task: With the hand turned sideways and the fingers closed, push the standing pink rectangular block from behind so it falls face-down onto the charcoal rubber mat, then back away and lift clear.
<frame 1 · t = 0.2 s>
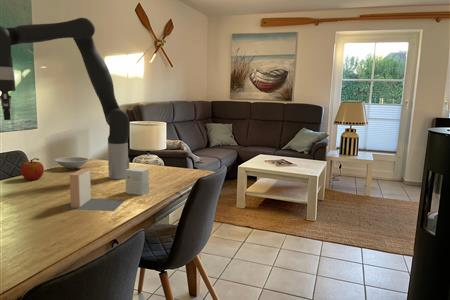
hand: (7, 119, 142), 29 cm above the table, tool pointing down, fingers open, 8 cm apart
small box: (137, 194, 145), on the table
tile mat: (95, 205, 128), on the table
fruit: (32, 179, 164), on the table
pink rectangular block: (81, 203, 129), point 1 cm above the table, touching tile mat
dish: (72, 168, 188), on the table
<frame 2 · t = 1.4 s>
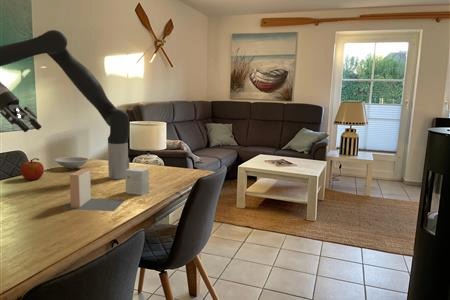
hand: (33, 129, 132), 27 cm above the table, tool tilted 45°, fingers open, 7 cm apart
nothing on the table moved.
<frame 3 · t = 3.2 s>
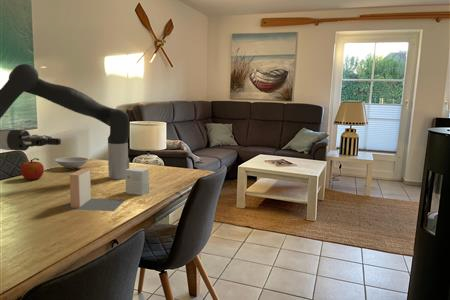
hand: (59, 141, 125), 23 cm above the table, tool horizontal, fingers closed
nothing on the table moved.
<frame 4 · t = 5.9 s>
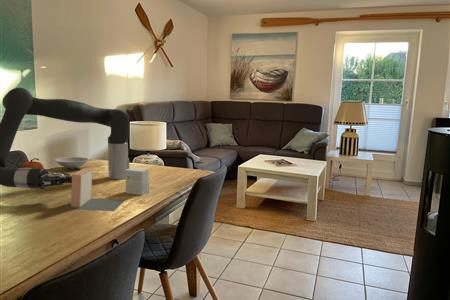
hand: (78, 179, 127), 9 cm above the table, tool horizontal, fingers closed
nothing on the table moved.
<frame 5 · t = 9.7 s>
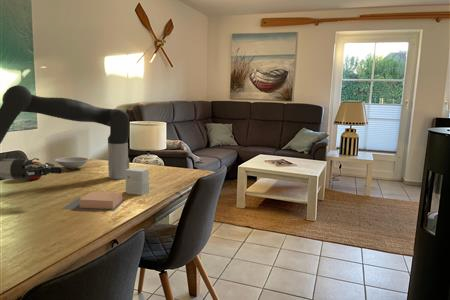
hand: (62, 170, 127), 13 cm above the table, tool horizontal, fingers closed
pink rectangular block: (85, 199, 128), point 2 cm above the table, tilted 90°, touching tile mat
everything else where it was.
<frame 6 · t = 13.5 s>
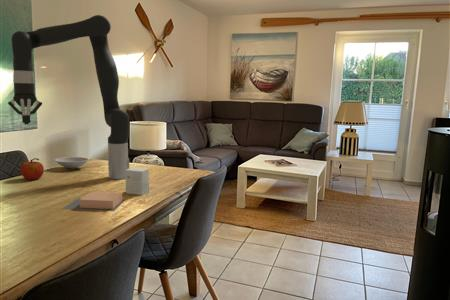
hand: (26, 124, 147), 27 cm above the table, tool pointing down, fingers closed
nothing on the table moved.
at the end: pink rectangular block tilted 90°; pink rectangular block 3.6 cm from the tile mat (horizontally); pink rectangular block touching tile mat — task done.
